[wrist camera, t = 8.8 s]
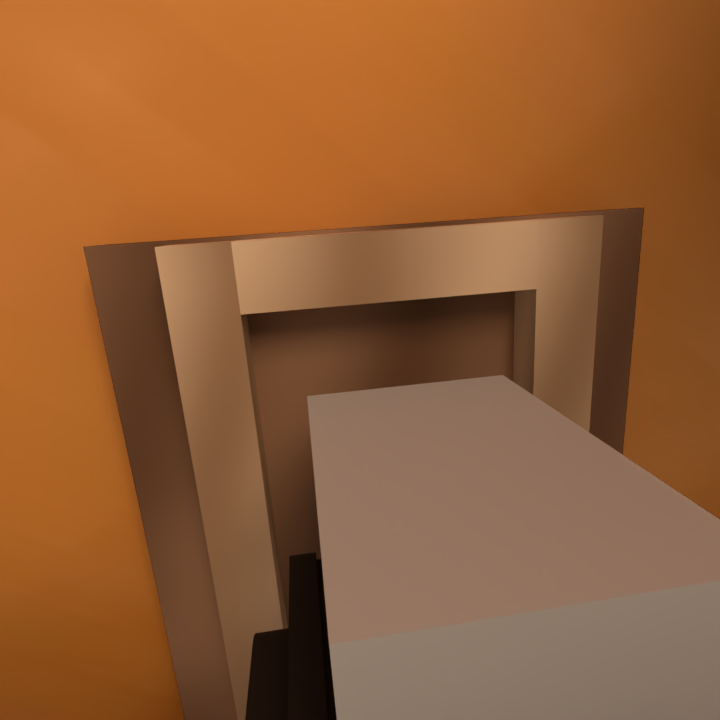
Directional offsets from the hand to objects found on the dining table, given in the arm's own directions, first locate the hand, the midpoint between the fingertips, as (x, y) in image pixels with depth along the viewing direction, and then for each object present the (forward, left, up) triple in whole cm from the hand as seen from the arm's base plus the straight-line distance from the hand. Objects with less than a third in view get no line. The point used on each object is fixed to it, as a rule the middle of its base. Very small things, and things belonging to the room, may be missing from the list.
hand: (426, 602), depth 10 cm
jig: (0, +1, -5) cm, 5 cm away
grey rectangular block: (0, 0, -1) cm, 1 cm away
